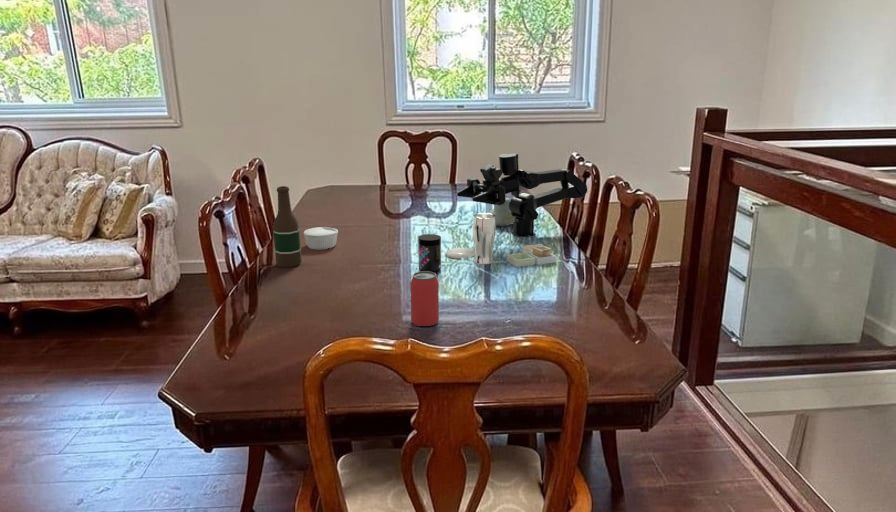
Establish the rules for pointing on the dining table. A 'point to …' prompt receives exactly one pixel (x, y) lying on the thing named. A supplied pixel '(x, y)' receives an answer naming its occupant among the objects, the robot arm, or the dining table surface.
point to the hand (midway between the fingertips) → (464, 197)
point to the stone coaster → (460, 253)
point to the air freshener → (503, 214)
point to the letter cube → (541, 251)
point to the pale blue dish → (543, 259)
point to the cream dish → (529, 248)
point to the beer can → (424, 298)
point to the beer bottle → (286, 232)
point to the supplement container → (429, 252)
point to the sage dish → (520, 259)
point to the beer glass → (483, 237)
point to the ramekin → (321, 237)
